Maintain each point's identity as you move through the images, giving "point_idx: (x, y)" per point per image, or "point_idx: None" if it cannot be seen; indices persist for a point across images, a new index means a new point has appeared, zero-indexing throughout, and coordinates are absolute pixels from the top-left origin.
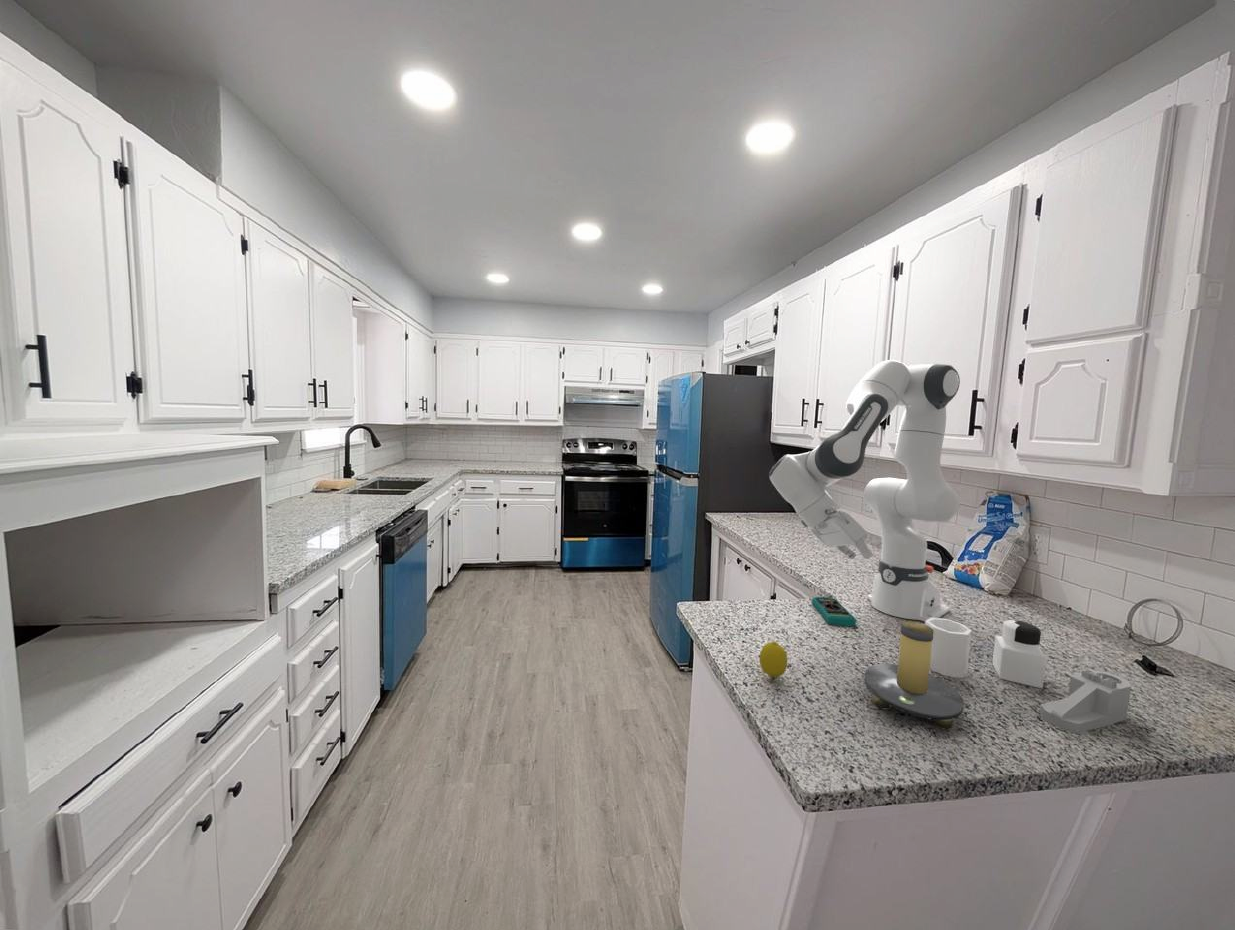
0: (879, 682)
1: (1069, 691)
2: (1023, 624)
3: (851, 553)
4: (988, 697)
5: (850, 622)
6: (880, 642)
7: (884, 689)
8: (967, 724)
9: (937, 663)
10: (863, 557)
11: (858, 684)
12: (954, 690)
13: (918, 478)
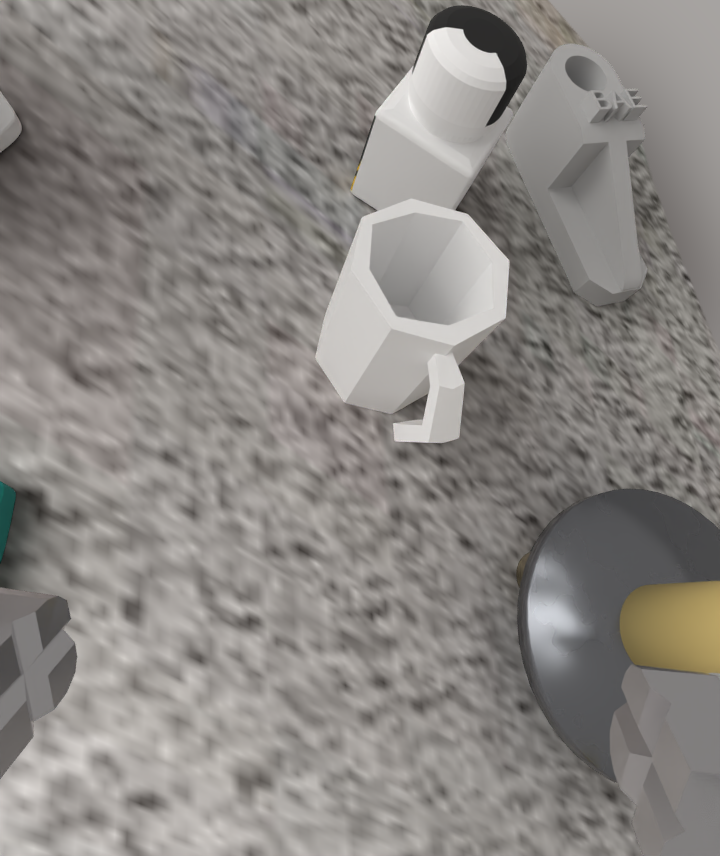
0: None
1: (559, 176)
2: (486, 35)
3: (15, 677)
4: (528, 358)
5: (4, 515)
6: (196, 467)
7: None
8: None
9: (422, 391)
10: (640, 790)
11: (523, 755)
12: (650, 497)
13: None
